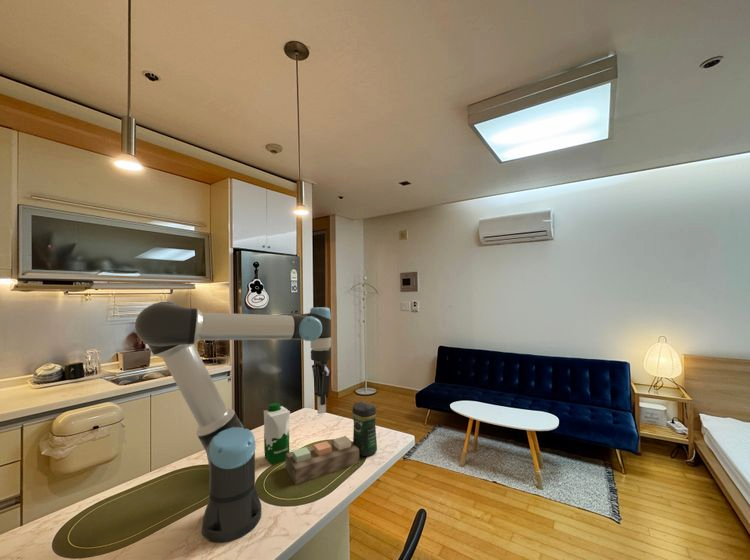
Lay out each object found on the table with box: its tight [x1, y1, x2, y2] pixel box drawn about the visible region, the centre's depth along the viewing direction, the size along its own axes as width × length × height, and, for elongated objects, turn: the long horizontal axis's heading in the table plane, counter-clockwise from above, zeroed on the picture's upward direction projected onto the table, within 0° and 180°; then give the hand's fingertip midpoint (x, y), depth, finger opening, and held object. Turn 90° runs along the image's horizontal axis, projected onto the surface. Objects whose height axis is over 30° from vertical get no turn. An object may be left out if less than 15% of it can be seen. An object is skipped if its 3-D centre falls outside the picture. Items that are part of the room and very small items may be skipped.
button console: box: [285, 439, 360, 485], centre depth 116 cm, size 24×12×5 cm, turn 121°
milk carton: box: [263, 402, 291, 466], centre depth 121 cm, size 9×9×20 cm
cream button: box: [333, 435, 352, 450], centre depth 120 cm, size 5×5×4 cm
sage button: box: [291, 446, 311, 463], centre depth 111 cm, size 5×5×4 cm
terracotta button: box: [313, 440, 332, 457], centre depth 116 cm, size 5×5×4 cm
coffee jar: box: [351, 401, 378, 457], centre depth 126 cm, size 10×8×19 cm
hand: (321, 412), depth 117 cm, fingers closed
